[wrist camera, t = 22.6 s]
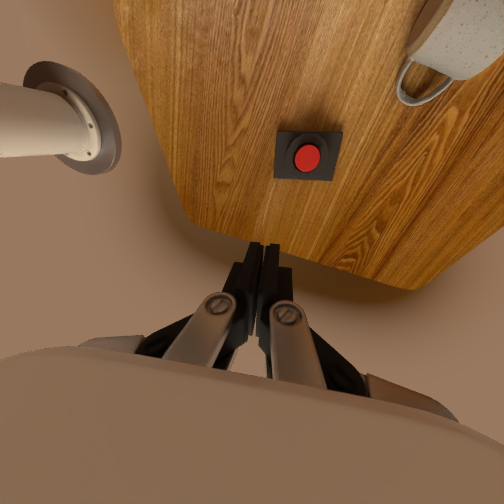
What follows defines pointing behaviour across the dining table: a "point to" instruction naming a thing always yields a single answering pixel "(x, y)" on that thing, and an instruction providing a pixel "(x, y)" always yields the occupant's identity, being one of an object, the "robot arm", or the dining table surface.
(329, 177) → the pad
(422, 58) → the ceramic mug
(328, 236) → the dining table surface
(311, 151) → the button
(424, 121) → the dining table surface
